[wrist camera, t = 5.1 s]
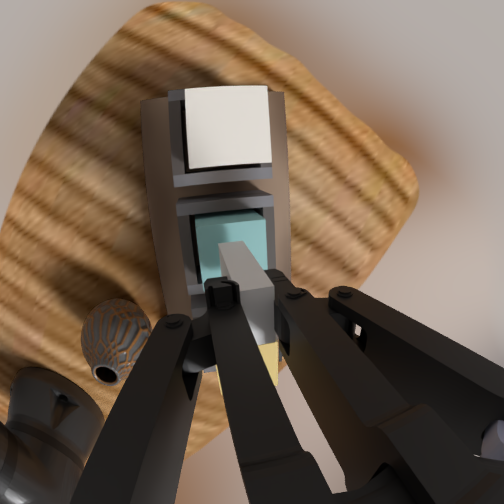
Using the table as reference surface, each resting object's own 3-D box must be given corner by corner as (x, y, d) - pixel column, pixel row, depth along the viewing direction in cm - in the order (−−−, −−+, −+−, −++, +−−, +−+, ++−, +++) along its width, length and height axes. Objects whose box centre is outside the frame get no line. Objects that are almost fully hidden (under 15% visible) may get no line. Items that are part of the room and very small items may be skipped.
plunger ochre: (214, 355, 24) (221, 395, 19) (207, 315, 22) (213, 352, 17) (262, 348, 24) (277, 385, 20) (260, 307, 23) (277, 341, 18)
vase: (97, 279, 24) (65, 328, 16) (162, 299, 26) (154, 356, 18) (91, 334, 25) (67, 389, 17) (149, 352, 27) (142, 412, 19)
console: (177, 345, 28) (177, 380, 23) (143, 104, 20) (130, 88, 15) (286, 329, 30) (303, 359, 25) (278, 95, 22) (301, 80, 17)
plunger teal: (200, 265, 23) (203, 291, 18) (194, 212, 21) (195, 226, 17) (252, 258, 24) (268, 282, 19) (249, 207, 22) (265, 219, 18)
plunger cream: (190, 167, 18) (189, 168, 14) (186, 107, 17) (184, 89, 12) (252, 162, 19) (271, 162, 14) (248, 103, 18) (266, 85, 13)
